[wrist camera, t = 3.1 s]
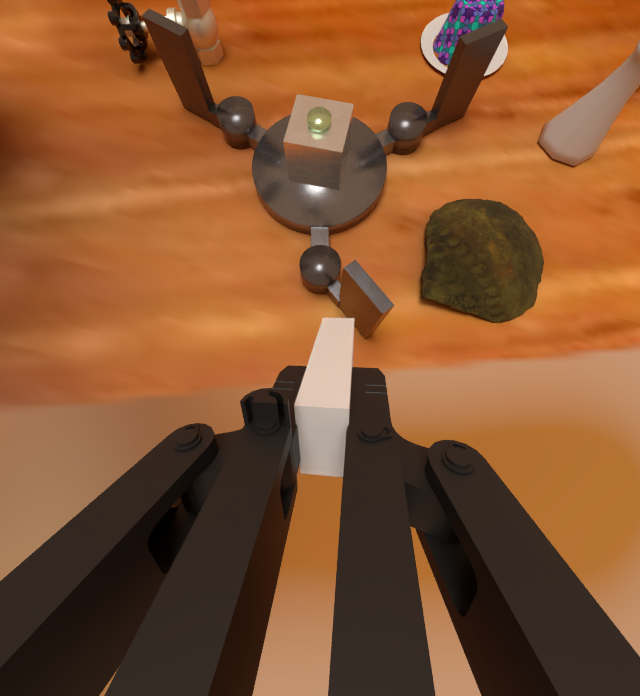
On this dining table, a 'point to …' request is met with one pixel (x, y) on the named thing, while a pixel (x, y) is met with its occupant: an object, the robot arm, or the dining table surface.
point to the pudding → (462, 31)
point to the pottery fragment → (481, 260)
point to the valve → (192, 17)
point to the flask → (591, 115)
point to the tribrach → (322, 133)
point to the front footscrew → (345, 287)
